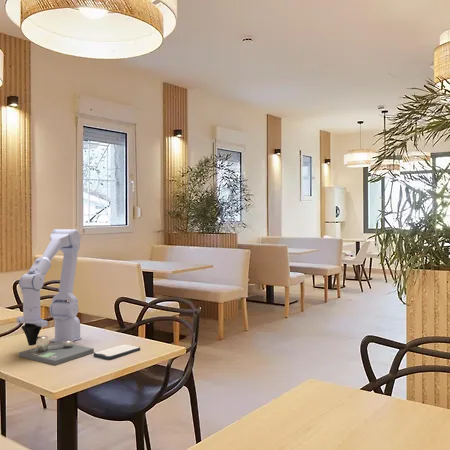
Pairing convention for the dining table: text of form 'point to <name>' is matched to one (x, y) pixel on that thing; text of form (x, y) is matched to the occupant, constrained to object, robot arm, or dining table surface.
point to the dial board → (57, 354)
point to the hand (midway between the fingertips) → (32, 344)
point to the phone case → (116, 352)
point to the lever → (43, 346)
